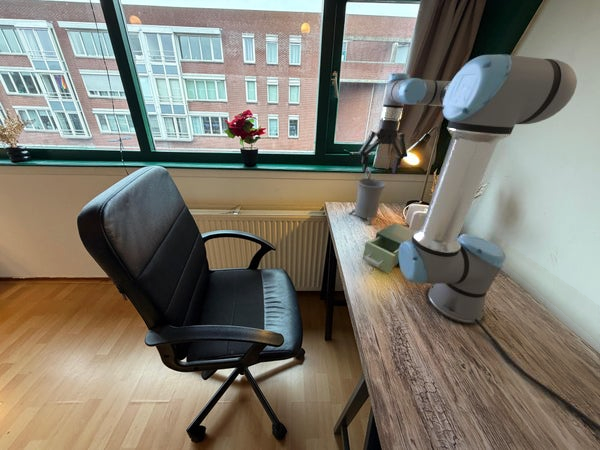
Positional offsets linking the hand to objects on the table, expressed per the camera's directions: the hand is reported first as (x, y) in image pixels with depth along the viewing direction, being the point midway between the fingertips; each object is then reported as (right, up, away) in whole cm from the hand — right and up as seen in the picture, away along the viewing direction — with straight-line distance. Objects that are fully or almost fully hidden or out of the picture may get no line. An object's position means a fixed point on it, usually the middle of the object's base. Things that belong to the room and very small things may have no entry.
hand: (378, 172), depth 107 cm
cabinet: (+5, -35, -5) cm, 36 cm away
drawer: (-3, -37, -12) cm, 39 cm away
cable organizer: (+26, -26, +14) cm, 39 cm away
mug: (0, -19, +25) cm, 31 cm away
